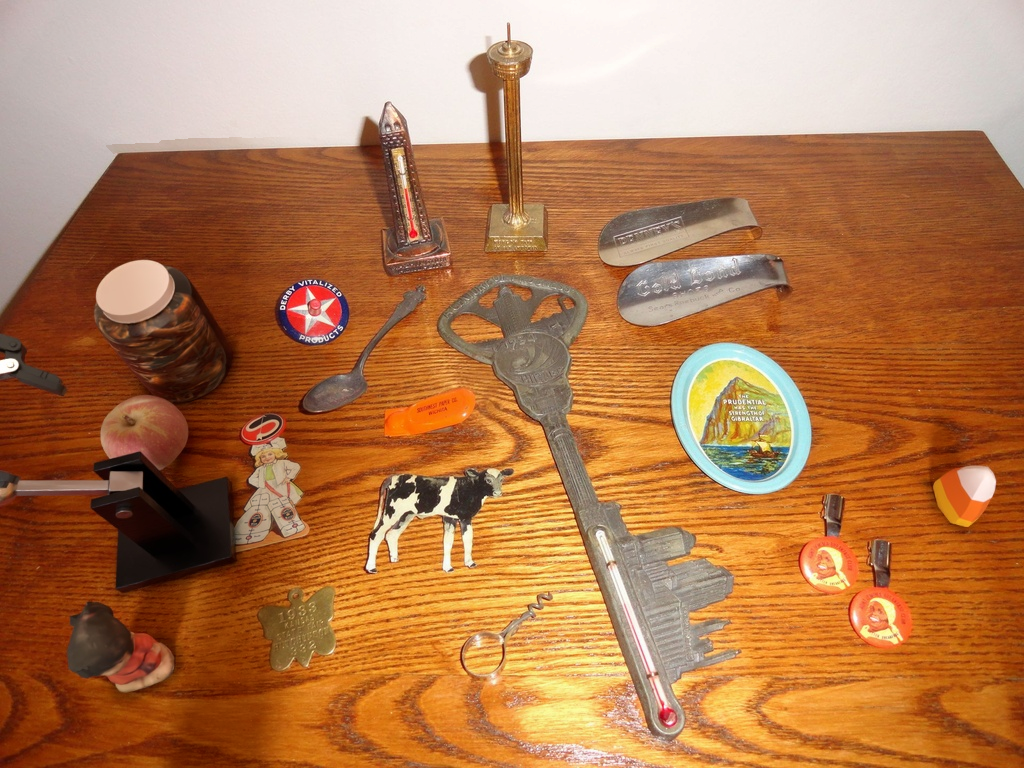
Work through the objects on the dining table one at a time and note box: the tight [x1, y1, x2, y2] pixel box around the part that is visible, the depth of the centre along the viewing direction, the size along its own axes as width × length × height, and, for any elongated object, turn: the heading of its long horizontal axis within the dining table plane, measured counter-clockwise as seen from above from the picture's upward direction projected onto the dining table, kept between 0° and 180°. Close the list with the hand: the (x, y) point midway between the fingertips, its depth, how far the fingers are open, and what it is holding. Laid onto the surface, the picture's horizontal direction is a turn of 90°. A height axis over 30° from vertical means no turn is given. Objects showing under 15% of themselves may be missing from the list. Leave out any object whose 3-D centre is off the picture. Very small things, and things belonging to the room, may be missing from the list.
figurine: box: [66, 600, 176, 693], centre depth 64 cm, size 6×6×12 cm
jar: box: [93, 259, 234, 403], centre depth 84 cm, size 12×12×15 cm
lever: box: [0, 469, 143, 507], centre depth 64 cm, size 13×3×3 cm, turn 106°
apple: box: [100, 394, 189, 471], centre depth 80 cm, size 9×9×8 cm
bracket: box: [90, 451, 237, 594], centre depth 71 cm, size 12×10×14 cm
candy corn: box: [932, 465, 997, 528], centre depth 72 cm, size 6×3×8 cm, turn 5°
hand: (41, 434), depth 62 cm, fingers open, 8 cm apart
